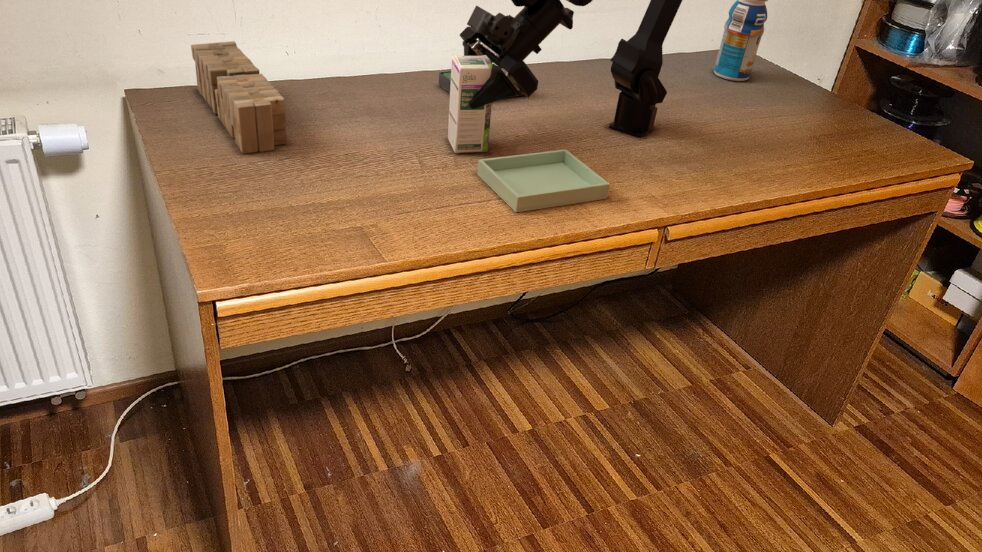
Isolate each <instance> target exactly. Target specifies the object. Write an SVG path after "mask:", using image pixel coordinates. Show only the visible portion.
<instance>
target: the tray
mask: <svg viewBox="0 0 982 552" xmlns="http://www.w3.org/2000/svg"><path fill="white" fill-rule="evenodd" d="M476 175H477V176H478V178H480V179H481V180H482V181H483V182H484V183H485V184H486V185H487V186H488V187H489V188H490V189H491V190H492V191H493V192H495V194H497V196H499V198H500V199H501V200H502V201H503V202H505V204H507V205H508V206H509V207H510V208H511V209H512V210H513V211H514V212H515V213H521V212H528V211H534V210H541V209H547V208H555V207H561V206H568V205H575V204H580V203H587V202H594V201H600V200H607V199H608V196H609V191H610V186H611V184H610V182H608V181H607V180H606V179H605V178H603V177H602V176H600V175H599V174H598V173H597V172H595V170H593V169H592V168H591V167H589V166H587V164H585V163H584V162H582V161H581V160H580V159H579V158H578V157H577V156H575V155H574V154H572V153H571V151H569V150H568V149H558V150H557V149H556V150H547V151H540V152H531V153H524V154H523V153H522V154H515V155H507V156H498V157H490V158H481V159H478V160H477V169H476Z"/></svg>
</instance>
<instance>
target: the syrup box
mask: <svg viewBox="0 0 982 552" xmlns="http://www.w3.org/2000/svg"><path fill="white" fill-rule="evenodd" d="M492 65H493V63H492V62H491V61H490V59H489V58H488V57H487V56H486V55H482V56H464V55H453V56H451V66H450V68H451V69H450V71H451V86H450V92H449V105H448V106H449V107H448V108H449V109H448V126H447V127H448V128H447V139H448V142H449V144H450V146H451V148H452V150H453V152H454V154H460V153H461V154H462V153H487V152H488V151H489V140H490V129H491V128H490V127H491V117H492V107H493V106H492V105H493V102H492V103H489V104H486V105H483V106H481V107H478V108H475V109H472V108H471V107H470V106H469V103H470V101H471V100H472V98H473V97H474V96H475V95H476V93H477V92H478V91H479V90H480V89H481V87H482V86H483V85H484V84H485V83H486V81H487V80H488V79H489V78H490V76H491V70H492Z"/></svg>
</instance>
